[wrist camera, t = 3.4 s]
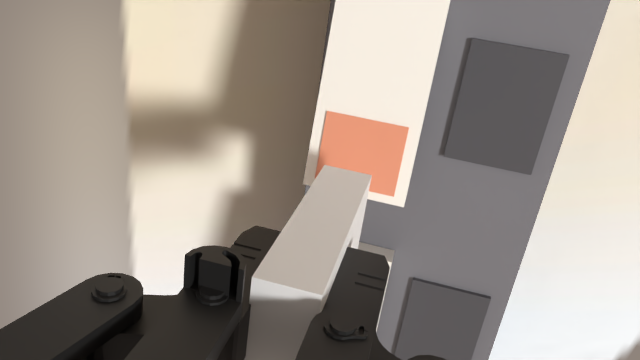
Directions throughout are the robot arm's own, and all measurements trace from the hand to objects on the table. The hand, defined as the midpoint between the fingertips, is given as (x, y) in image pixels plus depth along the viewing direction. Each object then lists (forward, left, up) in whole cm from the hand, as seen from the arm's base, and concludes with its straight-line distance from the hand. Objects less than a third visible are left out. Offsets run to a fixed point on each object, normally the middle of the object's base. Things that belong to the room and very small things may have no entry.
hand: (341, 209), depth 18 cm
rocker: (-3, 0, -3) cm, 4 cm away
